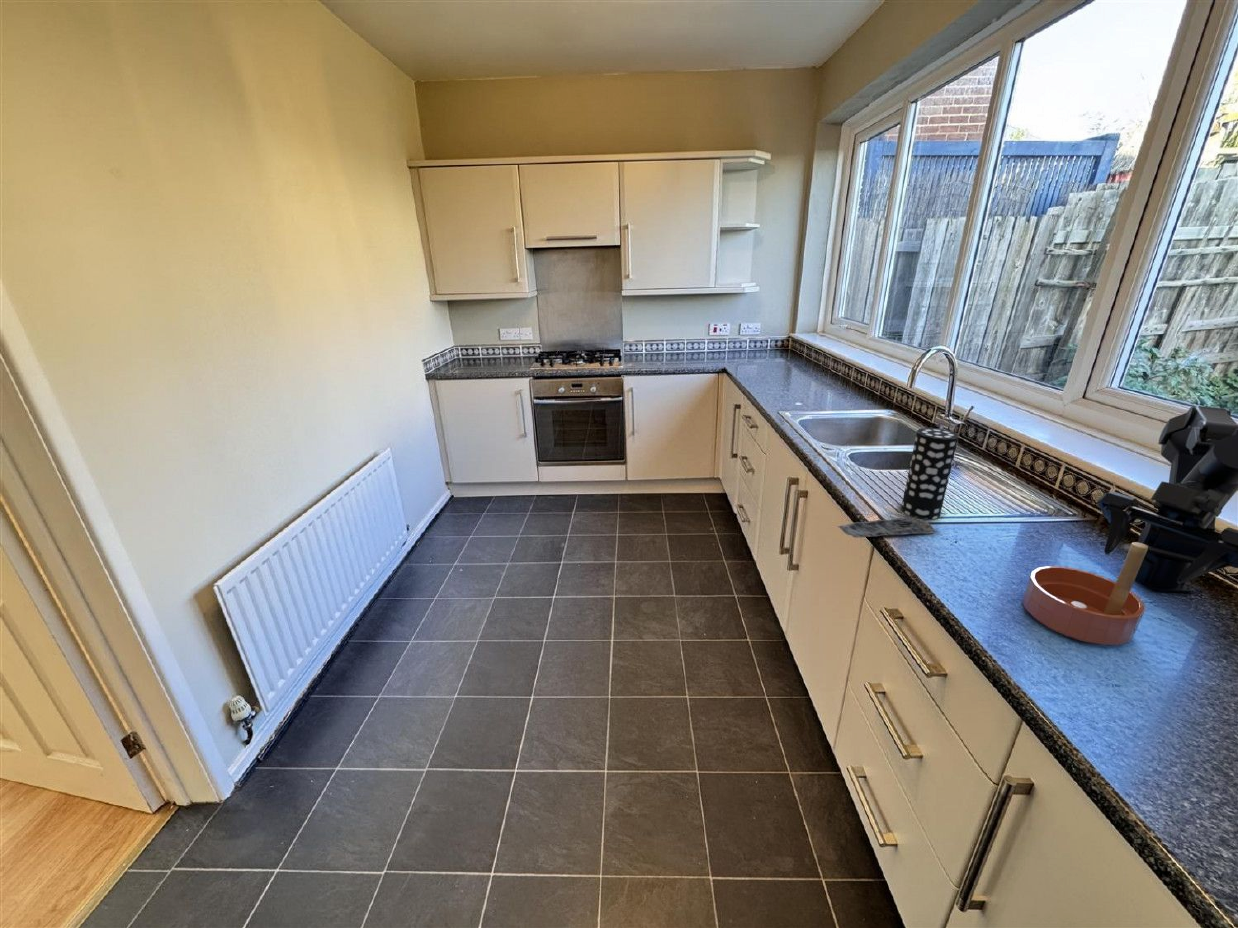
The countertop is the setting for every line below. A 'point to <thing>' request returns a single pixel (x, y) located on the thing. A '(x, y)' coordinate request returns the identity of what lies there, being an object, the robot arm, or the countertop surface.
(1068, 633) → the bowl
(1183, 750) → the countertop surface
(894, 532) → the driftwood
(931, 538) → the countertop surface
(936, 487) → the spotted tube
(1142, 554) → the stirrer
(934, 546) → the countertop surface
